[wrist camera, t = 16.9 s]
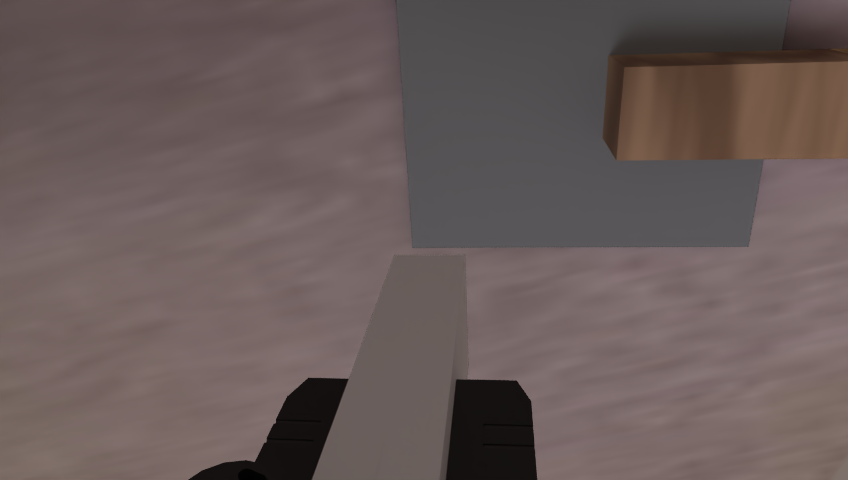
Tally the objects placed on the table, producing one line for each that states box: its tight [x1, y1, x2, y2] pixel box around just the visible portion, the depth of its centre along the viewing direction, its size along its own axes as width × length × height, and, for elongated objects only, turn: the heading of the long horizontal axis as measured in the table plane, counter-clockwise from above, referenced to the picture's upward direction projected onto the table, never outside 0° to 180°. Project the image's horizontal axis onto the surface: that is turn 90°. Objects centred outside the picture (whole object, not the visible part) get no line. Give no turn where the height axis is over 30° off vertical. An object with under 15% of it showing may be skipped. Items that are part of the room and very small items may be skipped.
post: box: [602, 48, 848, 161], centre depth 31 cm, size 4×4×12 cm
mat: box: [396, 0, 791, 248], centre depth 34 cm, size 20×18×1 cm
